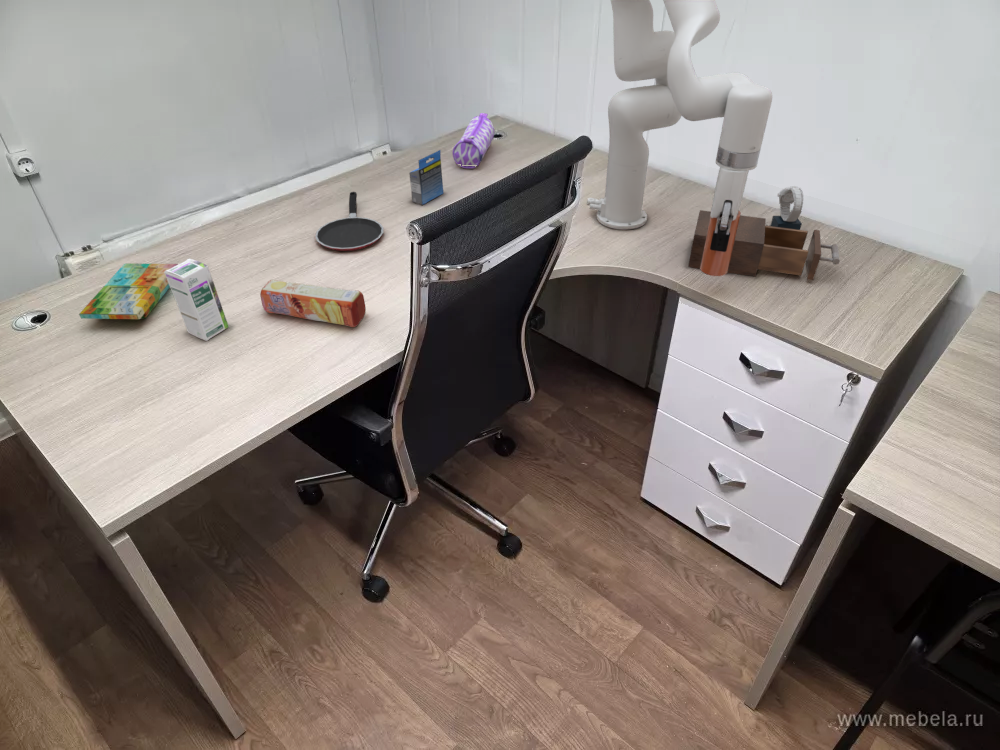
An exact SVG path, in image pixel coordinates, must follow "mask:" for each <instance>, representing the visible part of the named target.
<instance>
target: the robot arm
mask: <svg viewBox="0 0 1000 750" xmlns="http://www.w3.org/2000/svg"><path fill="white" fill-rule="evenodd" d="M662 1H663V4H664V6H665V10H666V12H667V15H668V19H669V21H670V24H671V27H672V30H673V31H672V30H659V31H658V30H657V31H655V30H654V9H653V5H652V3H651V1H650V0H610V4H611V9H612V18H613V20H612V21H613V22H612V24H613V27H612V29H613V32H612V33H613V64H614V65H613V66H614V72H615V75H616V77H617V78H618V80H620V81H622V82H638V81H647V80H655V84H653V85H644V86H637V87H629V88H625V89H623V90H620V91H618V92H616V93H615V94H614V95H613V96H612V97H611V98H610V100H609V102H608V107H607V118H608V130H609V139H608V141H609V142H608V143H609V144H608V155H607V166H606V167H607V168H606V178H605V189H604V197H600V198H594V197H587V201H586V206H589V209H590V210H597V212H596V219H597V221H598V223H600V224H601V225H603V226H604V227H607V228H610V229H615V230H624V231H625V230H634V229H639V228H640V227H642V226H644V225H645V224H646V223H647V221H648V214H647V212H646V211H645V210H644V209H643V204H644V195H645V189H646V182H647V175H648V174H647V172H648V167H649V157H650V148H649V145H648V143H647V141H646V139H645V137H644V135H643V134H644V132H647V131H652V130H657V129H665V128H670V127H672V126H674V125H676V124H677V123H678V122H679V121H680V119H682V118H684V119H685V120H687V121H690V122H699V121H706V120H711V119H717V118H723V121H722V126H721V132H720V136H719V142H718V145H717V153H716V157H715V164H716V165H717V166H718V167H719V169H718V173H717V177H716V182H715V188H714V193H713V198H712V202H711V203H712V204H711V207H710V211H711V214H710V216H711V218H717V223H716V228H715V231H713V236H712V241H711V246H710V250H714V251H721V252H726V251H727V246H728V242H729V237H730V233H729V232H730V227H731V222H732V221H734V220H735V219H736V217H737V214H738V210H739V211H740V207H741V204H742V200H743V197H744V192H745V188H746V185H747V181H748V176H749V172H750V171H752V170H755V169H756V168H757V167H758V163H759V159H760V155H761V154H760V153H761V150H762V145H763V141H764V138H765V137H764V136H765V132H766V127H767V123H768V119H769V116H770V111H771V106H772V102H773V91H772V90H771V89H770V88H769V87H767V86H765V85H762V84H758V83H756V82H755V81H753V80H752V79H751V78H750V77H749V76H748V75H746V74H744V73H742V72H738V71H737V72H736V71H734V72H728V73H727V72H725V73H718V74H711V75H704V76H697V74H696V71H695V68H694V64H693V61H692V55H691V52H692V51H691V50H692V47H693V46H695V45H697V44H698V43H700V42H701V41H703V40H704V39H706V38H707V37H708V36H709V35H711V34H712V33H713V32H714V30H716V28H717V27H718V26H719V23H720V20H721V14H720V13H721V12H720V11H719V8H718V4H717V1H716V0H662ZM720 213H721V214H723V215H722V217H720ZM729 215H731V217H730V218H729ZM720 220H721V224H719V222H720ZM728 221H729V223H728ZM727 223H728V225H727Z"/></svg>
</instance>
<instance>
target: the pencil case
mask: <svg viewBox="0 0 1000 750" xmlns="http://www.w3.org/2000/svg"><path fill="white" fill-rule="evenodd" d="M494 137H495V127H494V124H493V122H492V120H490V118H488V113H484V112H480V113H479V115H476V116H474V117H473V118H472V119H470V121H469V123H468V124H467V127H466V128H465V130H464V133H463V135H462V136H461V138H460V139H459V141H457V142H456V143H455V145H454V146H453V148H452V158H453V160H454V162H455V164H456V165H457V164H461V166H459V165H457V166H458V167H460V168H463V169H465V170H466V169H468V170H473V169H476V168H477V167H478V166H479V165H480V164H481V163H482V161H483V159H484V157H485V155H486V153H487V151H488V150H489V148H490V146H491V145H492V142H493V139H494ZM462 165H477V167H475V166H462Z"/></svg>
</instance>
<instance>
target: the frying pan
mask: <svg viewBox="0 0 1000 750" xmlns="http://www.w3.org/2000/svg"><path fill="white" fill-rule="evenodd" d="M357 196H358V193H357V192H356V191H350V192H349V196H348V217H342V218H338V219H334V220H331V221H329V222H326V223H325V224H323V225H322V226H320V227H319V228H318V229H317V231H316V232H315V236H314V237H315V239H316V241H317V243H319V244H320V245H322V246H323V247H324V248H327V249H328V250H332V251H336V252H337V251H338V252H353V251H358V250H364V249H366V248H368V247H371V246H372V245H373V244H375V243H376V242H377V241H379V239H380V238H381V237H382V236H383V234H384V226H383V225H382V223H380V222H379V221H377V220H375V219H373V218H369V217H361V216H358V215H357V214H358V213H357Z"/></svg>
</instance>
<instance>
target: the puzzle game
mask: <svg viewBox="0 0 1000 750" xmlns="http://www.w3.org/2000/svg"><path fill="white" fill-rule="evenodd" d="M178 264H179V263H137V262H135V263H134V262H133V263H132V262H130V263H129V262H128V263H123V264H122V265H121V267H120V268H119V269H118V270H117V271H116V273H114V274H113V275H112V277H111V278H110V279H108V281H107V282H106V283H105V285H104V286H103V287H102V288H101V289H100V290H99V291H98V293H96V294H95V295H94V297H93V298H92V299H91V300H90V301H89V303H88V304H86V305H85V307H83V309H82V310H81V311H80V312H79V314H78V315H79V317H80V320H81V319H86V320H87V319H88V320H89V319H92V320H93V319H94V320H143V319H145V320H146V319H147V317H148V316H149V315H150V314H151V312H152V311H153V310H154V309H155V307H156V306H157V305H158V303H159V302H160V301H161V300H162V298H163V297H164V295H165V294H166V293H167V292H168V291H169V289H171V288H170V286H169V283H168V280H167V278H166V275H165V273H164V272H165V271H166V270H169V269H171V268H172V267H174V266H176V265H178Z"/></svg>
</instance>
